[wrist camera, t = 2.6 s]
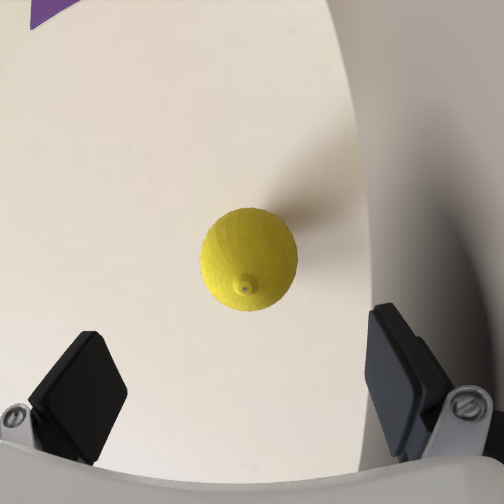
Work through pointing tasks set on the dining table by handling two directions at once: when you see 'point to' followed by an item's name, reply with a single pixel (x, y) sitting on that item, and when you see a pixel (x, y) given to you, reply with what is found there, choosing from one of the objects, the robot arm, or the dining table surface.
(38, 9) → the cloth
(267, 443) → the dining table surface
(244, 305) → the lemon
